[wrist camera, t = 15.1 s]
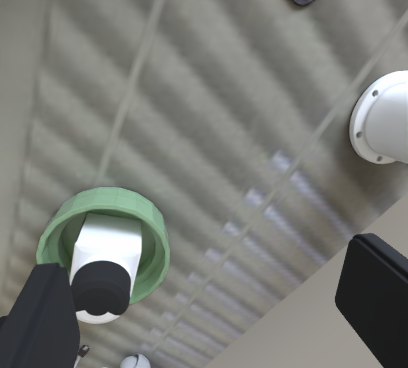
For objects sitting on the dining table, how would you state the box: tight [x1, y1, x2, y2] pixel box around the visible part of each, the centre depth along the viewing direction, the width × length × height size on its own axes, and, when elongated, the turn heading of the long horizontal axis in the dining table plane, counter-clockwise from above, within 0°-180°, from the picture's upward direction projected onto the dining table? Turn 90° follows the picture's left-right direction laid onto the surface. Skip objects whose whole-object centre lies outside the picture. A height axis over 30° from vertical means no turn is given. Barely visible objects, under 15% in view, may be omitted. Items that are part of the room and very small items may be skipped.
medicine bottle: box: [70, 213, 142, 324], centre depth 34 cm, size 7×7×12 cm
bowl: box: [36, 187, 170, 305], centre depth 37 cm, size 15×15×6 cm
